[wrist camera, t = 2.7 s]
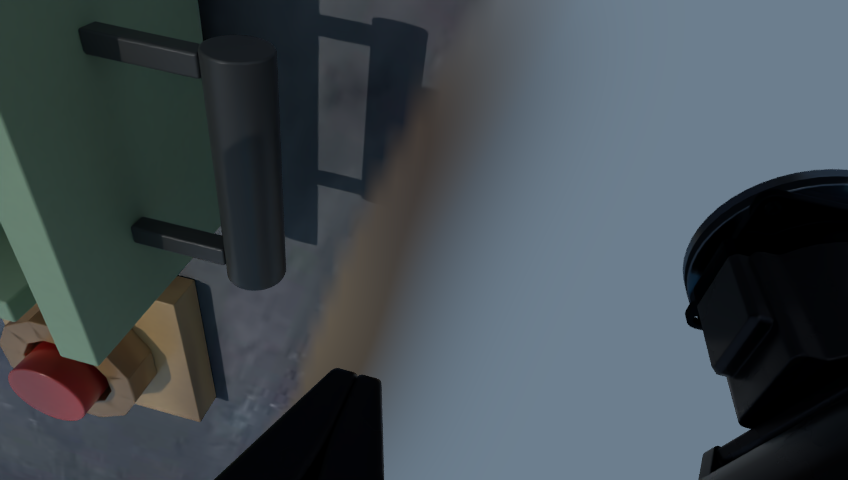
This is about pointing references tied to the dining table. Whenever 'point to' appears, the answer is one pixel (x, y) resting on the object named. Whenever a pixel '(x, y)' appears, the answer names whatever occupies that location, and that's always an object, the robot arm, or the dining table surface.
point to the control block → (142, 357)
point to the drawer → (130, 162)
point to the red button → (57, 383)
